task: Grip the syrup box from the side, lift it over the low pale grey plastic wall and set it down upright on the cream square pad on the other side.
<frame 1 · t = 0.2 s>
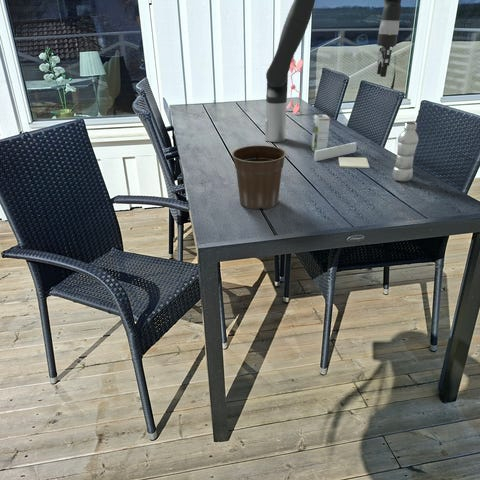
hand: (381, 75, 180), 29 cm above the table, tool pointing down, fingers open, 8 cm apart
syrup box: (319, 150, 184), on the table
low wall: (335, 156, 176), on the table
plant pot: (258, 203, 135), on the table
figurine: (287, 113, 251), on the table
resting pad: (353, 163, 168), on the table
plastic bottle: (401, 180, 150), on the table
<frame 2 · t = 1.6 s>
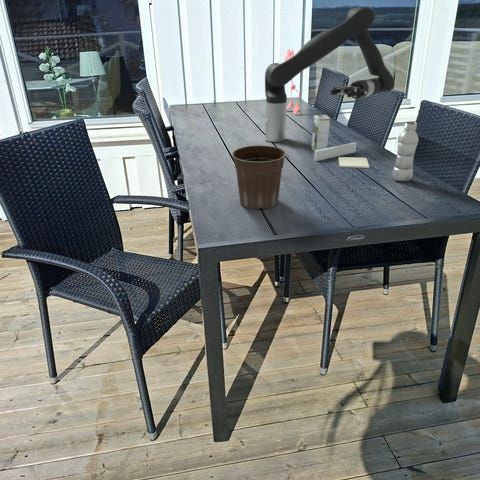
hand: (339, 93, 180), 22 cm above the table, tool horizontal, fingers open, 8 cm apart
nothing on the table moved.
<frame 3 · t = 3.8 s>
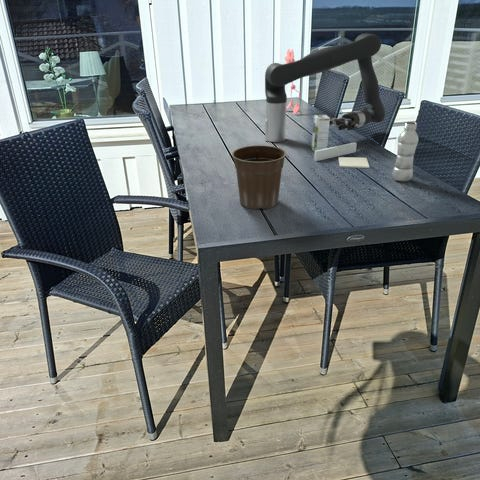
hand: (331, 126, 184), 9 cm above the table, tool horizontal, fingers open, 8 cm apart
nothing on the table moved.
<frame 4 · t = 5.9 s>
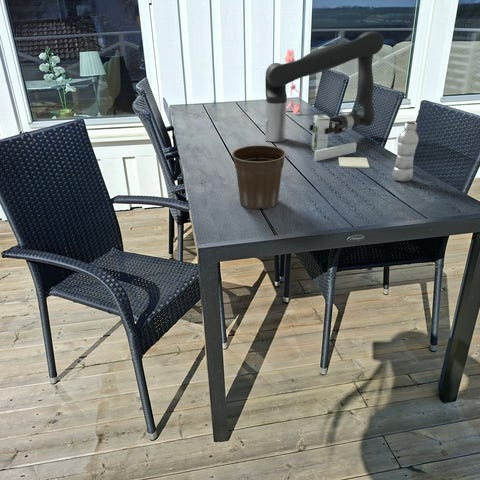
hand: (317, 129, 179), 9 cm above the table, tool horizontal, fingers closed on syrup box, 7 cm apart
syrup box: (319, 150, 184), on the table, touching gripper
everything else where it was.
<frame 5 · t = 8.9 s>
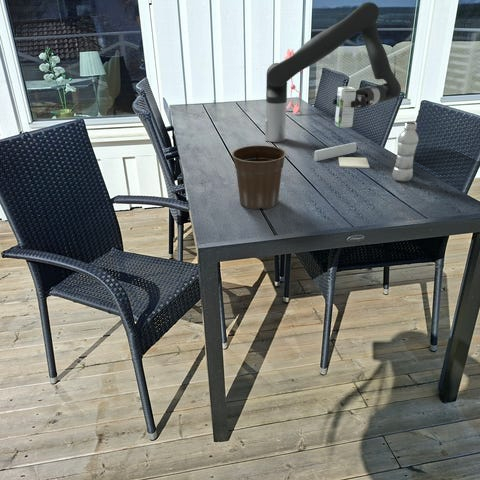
hand: (342, 103, 163), 22 cm above the table, tool horizontal, fingers closed on syrup box, 7 cm apart
syrup box: (343, 126, 169), point 13 cm above the table, touching gripper
everything else where it was.
when the fingers open (11 cm above the table, at t = 12.4 s): syrup box stays where it is, resting on resting pad.
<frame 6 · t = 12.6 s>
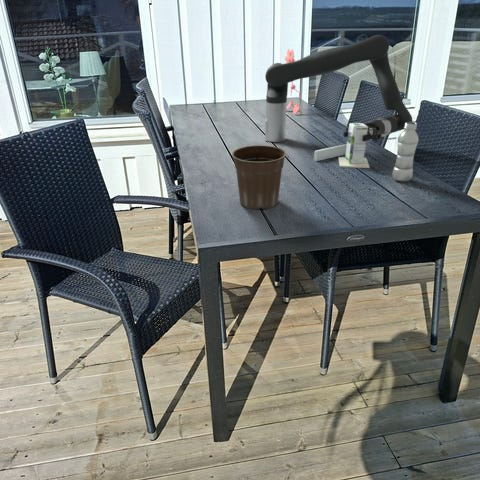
hand: (353, 136, 161), 11 cm above the table, tool horizontal, fingers open, 8 cm apart
syrup box: (354, 162, 167), resting on resting pad, touching gripper
everything else where it was.
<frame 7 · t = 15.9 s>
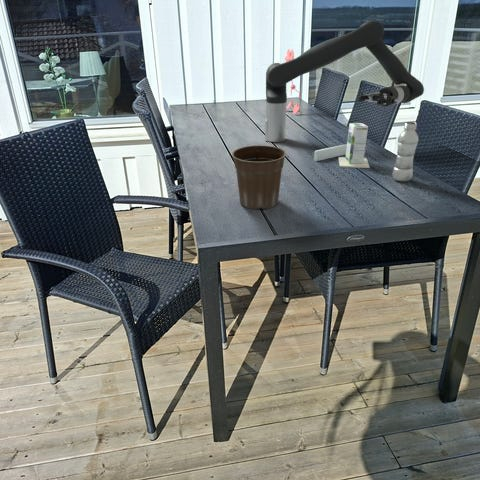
hand: (368, 100, 169), 21 cm above the table, tool horizontal, fingers open, 8 cm apart
syrup box: (354, 162, 167), resting on resting pad
everything else where it was.
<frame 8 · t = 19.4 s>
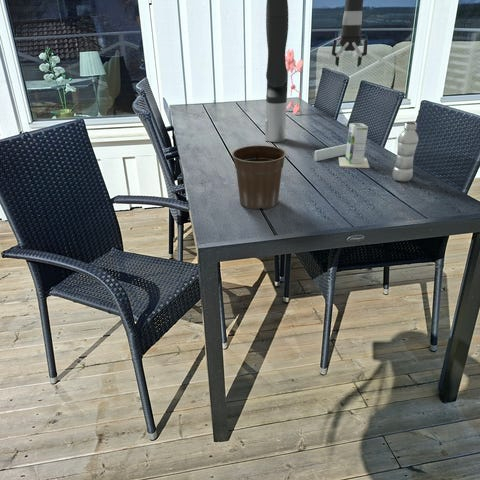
hand: (347, 66, 181), 32 cm above the table, tool pointing down, fingers open, 8 cm apart
nothing on the table moved.
at the end: syrup box inside the target area on the resting pad (0.3 cm from its centre), point 0.4 cm above the resting pad's base; syrup box tilted 0°; the gripper is holding nothing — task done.
